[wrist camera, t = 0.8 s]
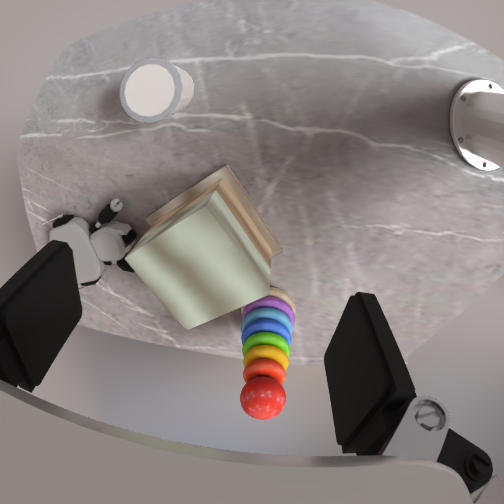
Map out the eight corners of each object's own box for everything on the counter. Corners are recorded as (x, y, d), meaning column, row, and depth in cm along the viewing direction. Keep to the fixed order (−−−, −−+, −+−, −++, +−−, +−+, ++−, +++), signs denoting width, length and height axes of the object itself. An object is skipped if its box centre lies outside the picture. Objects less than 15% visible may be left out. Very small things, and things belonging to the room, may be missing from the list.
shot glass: (158, 126, 34) (134, 134, 28) (137, 79, 31) (109, 79, 25) (208, 102, 33) (193, 104, 26) (186, 53, 30) (166, 45, 24)
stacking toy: (230, 299, 46) (208, 405, 29) (276, 274, 43) (273, 384, 27) (261, 332, 48) (252, 436, 32) (305, 311, 46) (312, 419, 29)
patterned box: (227, 164, 36) (208, 190, 27) (282, 247, 41) (282, 297, 31) (148, 216, 40) (112, 255, 31) (203, 287, 45) (185, 338, 35)
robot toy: (127, 187, 39) (51, 215, 41) (114, 197, 35) (35, 226, 37) (156, 263, 45) (81, 280, 46) (148, 280, 41) (69, 295, 42)
